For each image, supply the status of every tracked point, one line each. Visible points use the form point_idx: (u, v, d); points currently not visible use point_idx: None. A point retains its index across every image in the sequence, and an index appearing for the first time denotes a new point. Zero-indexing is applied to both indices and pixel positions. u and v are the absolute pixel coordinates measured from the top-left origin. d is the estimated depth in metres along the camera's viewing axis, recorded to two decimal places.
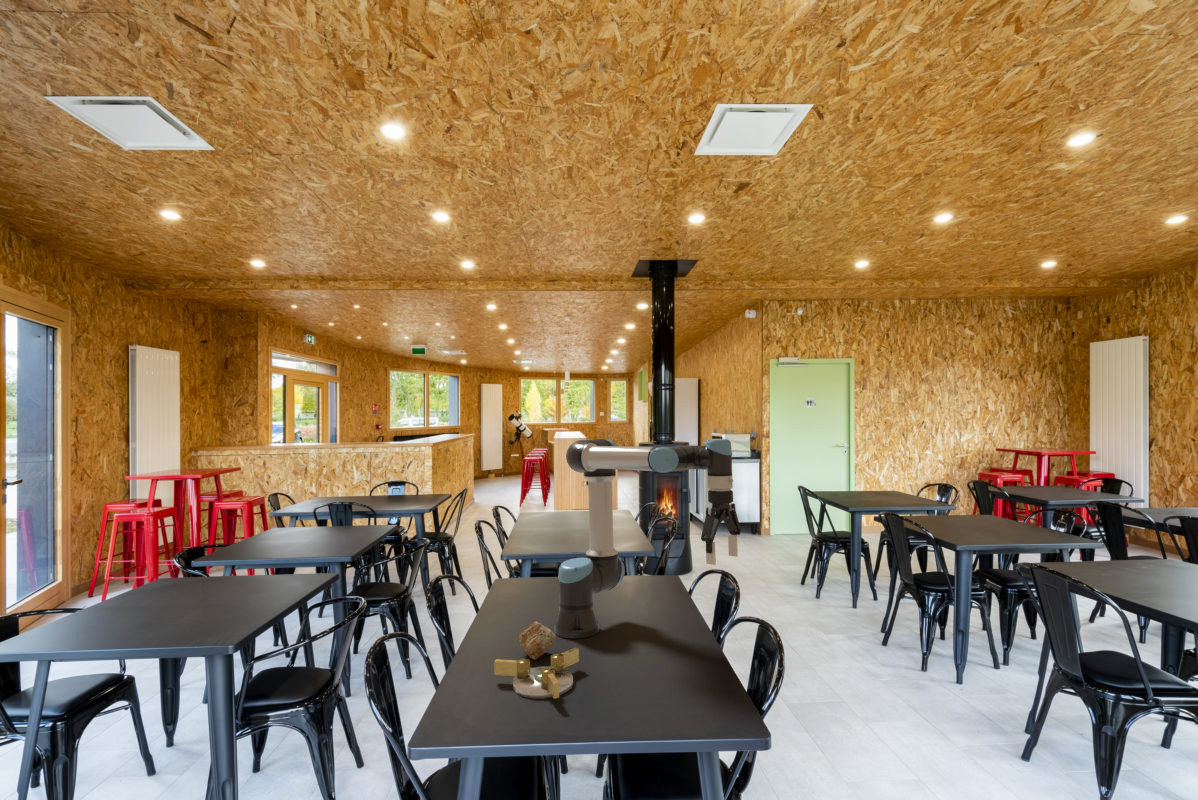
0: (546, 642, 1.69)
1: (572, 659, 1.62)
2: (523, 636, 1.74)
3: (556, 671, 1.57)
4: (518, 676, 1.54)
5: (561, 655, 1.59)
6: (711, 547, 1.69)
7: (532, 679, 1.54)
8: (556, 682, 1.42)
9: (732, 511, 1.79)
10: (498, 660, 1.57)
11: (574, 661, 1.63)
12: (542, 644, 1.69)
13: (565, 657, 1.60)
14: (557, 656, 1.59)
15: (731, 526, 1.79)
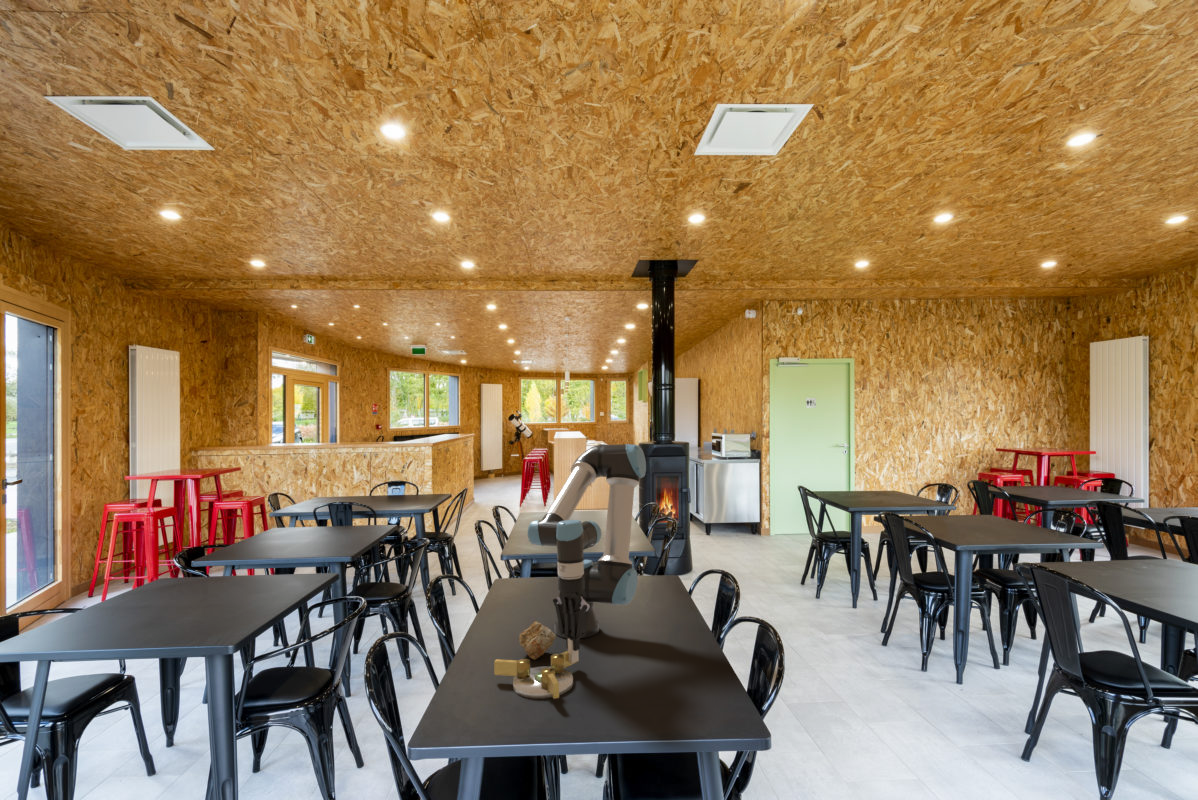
0: (546, 642, 1.69)
1: None
2: (523, 636, 1.74)
3: (556, 671, 1.57)
4: (518, 676, 1.54)
5: (561, 655, 1.59)
6: (568, 643, 1.62)
7: (532, 679, 1.54)
8: (556, 682, 1.42)
9: None
10: (498, 660, 1.57)
11: None
12: (542, 644, 1.69)
13: (565, 657, 1.60)
14: (557, 656, 1.59)
15: None
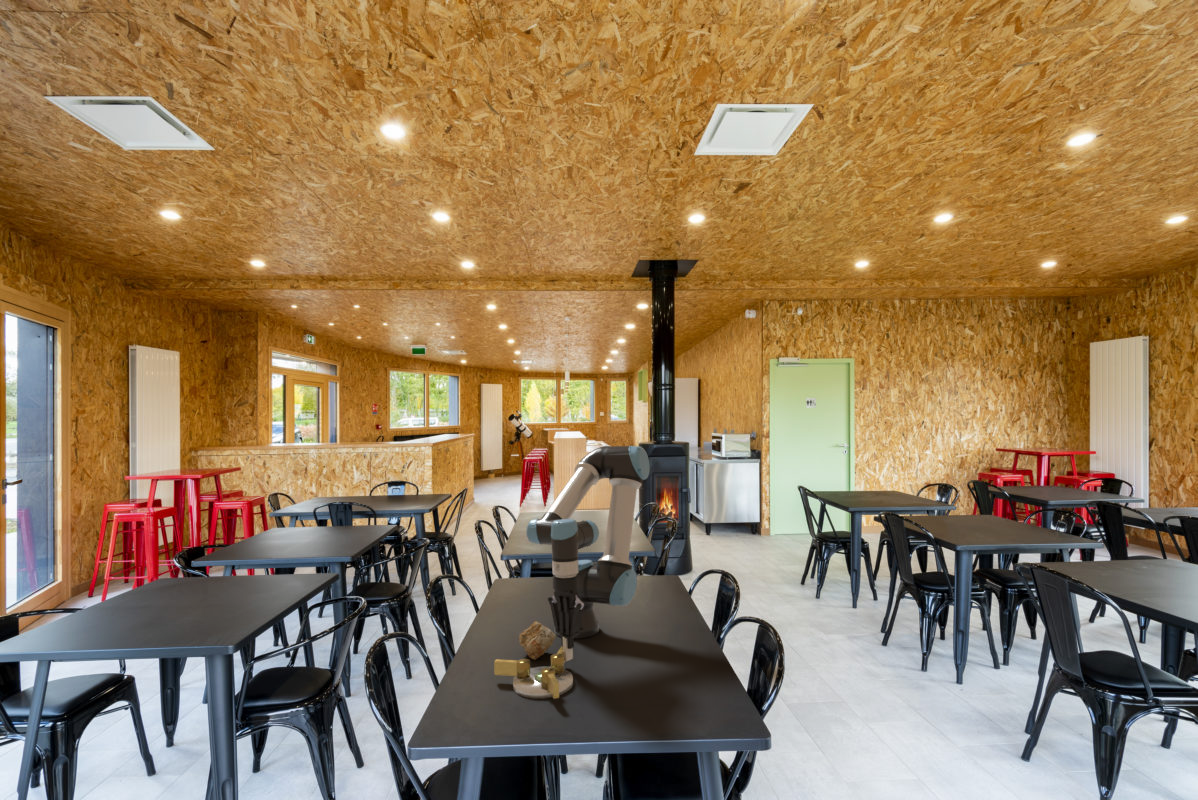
0: (546, 642, 1.69)
1: None
2: (523, 636, 1.74)
3: (559, 671, 1.57)
4: (518, 676, 1.54)
5: (560, 654, 1.60)
6: (563, 641, 1.63)
7: (532, 679, 1.54)
8: (556, 682, 1.42)
9: None
10: (498, 660, 1.57)
11: None
12: (542, 644, 1.69)
13: None
14: (557, 656, 1.59)
15: None
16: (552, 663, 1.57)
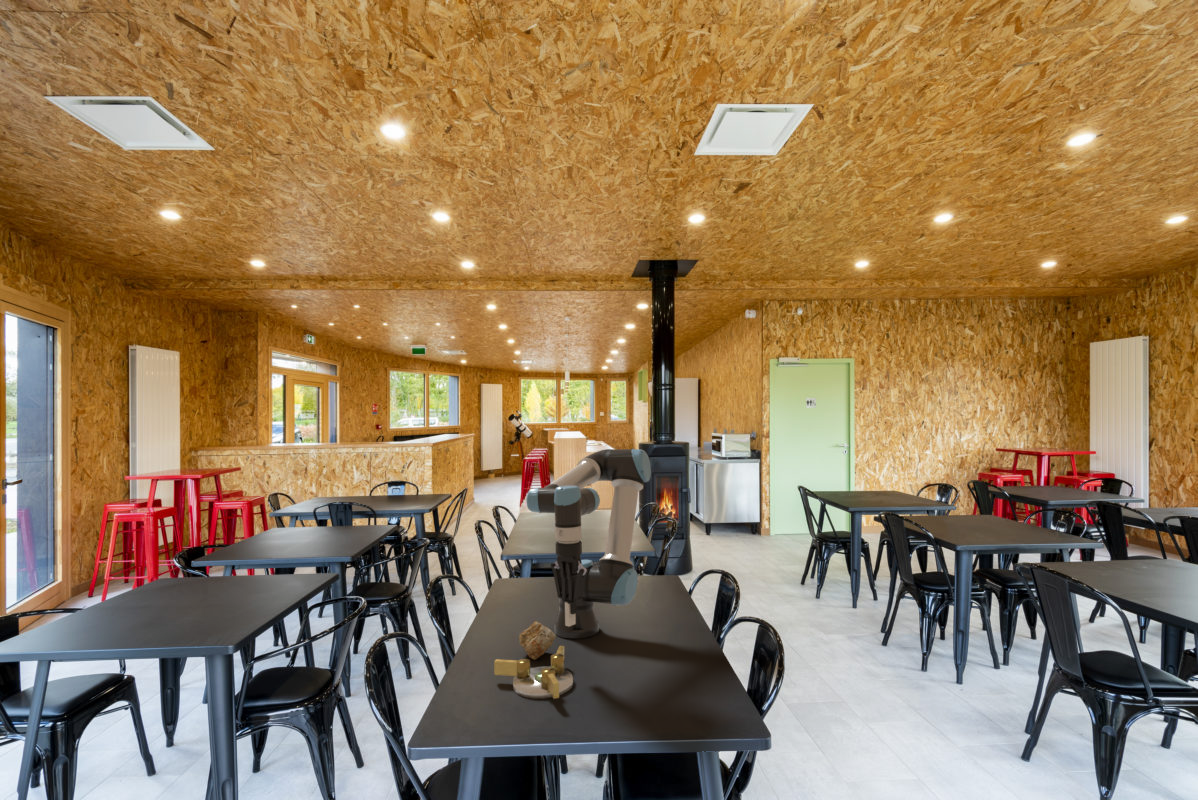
0: (546, 642, 1.69)
1: None
2: (523, 636, 1.74)
3: (560, 671, 1.57)
4: (518, 676, 1.54)
5: (559, 654, 1.60)
6: (565, 606, 1.63)
7: (532, 679, 1.54)
8: (556, 682, 1.42)
9: None
10: (498, 660, 1.57)
11: None
12: (542, 644, 1.69)
13: None
14: (557, 656, 1.59)
15: None
16: (552, 663, 1.57)
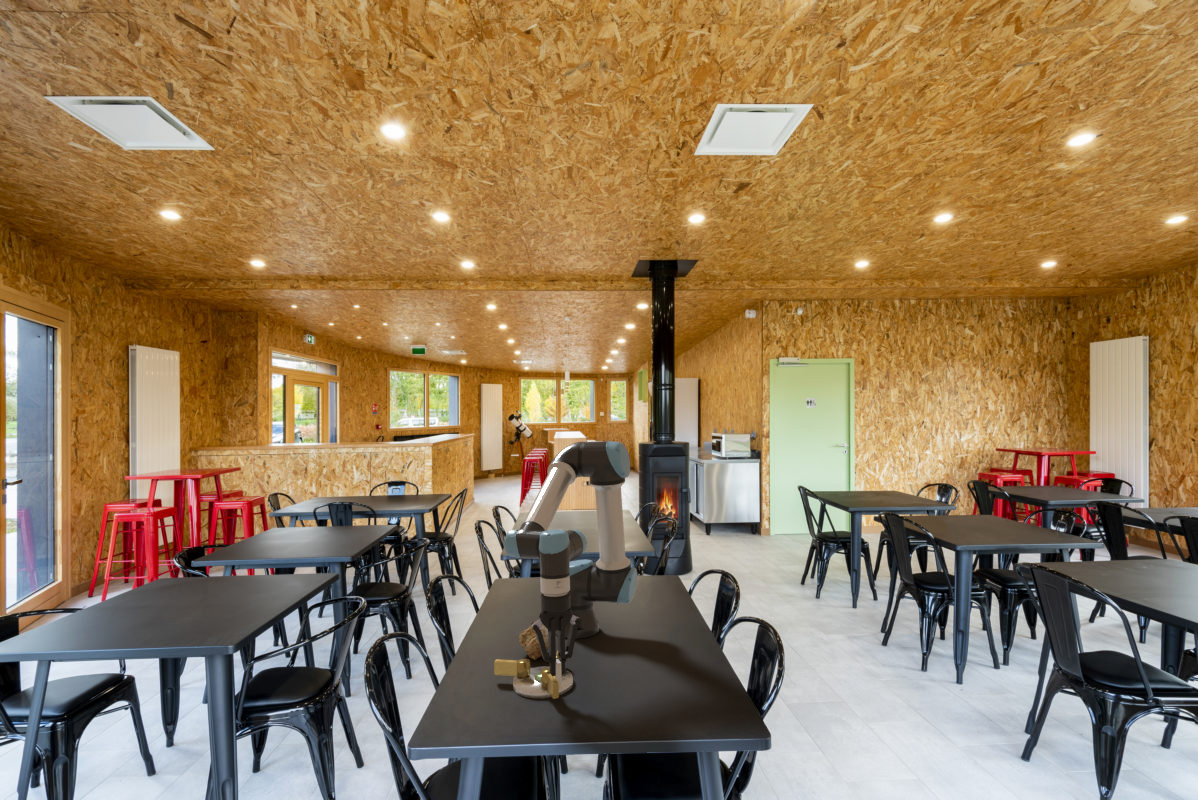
0: (546, 642, 1.69)
1: None
2: (523, 636, 1.74)
3: None
4: (518, 676, 1.54)
5: None
6: (554, 669, 1.44)
7: (532, 679, 1.54)
8: (556, 682, 1.42)
9: (573, 626, 1.46)
10: (498, 660, 1.57)
11: None
12: None
13: None
14: (557, 656, 1.59)
15: (559, 645, 1.45)
16: None
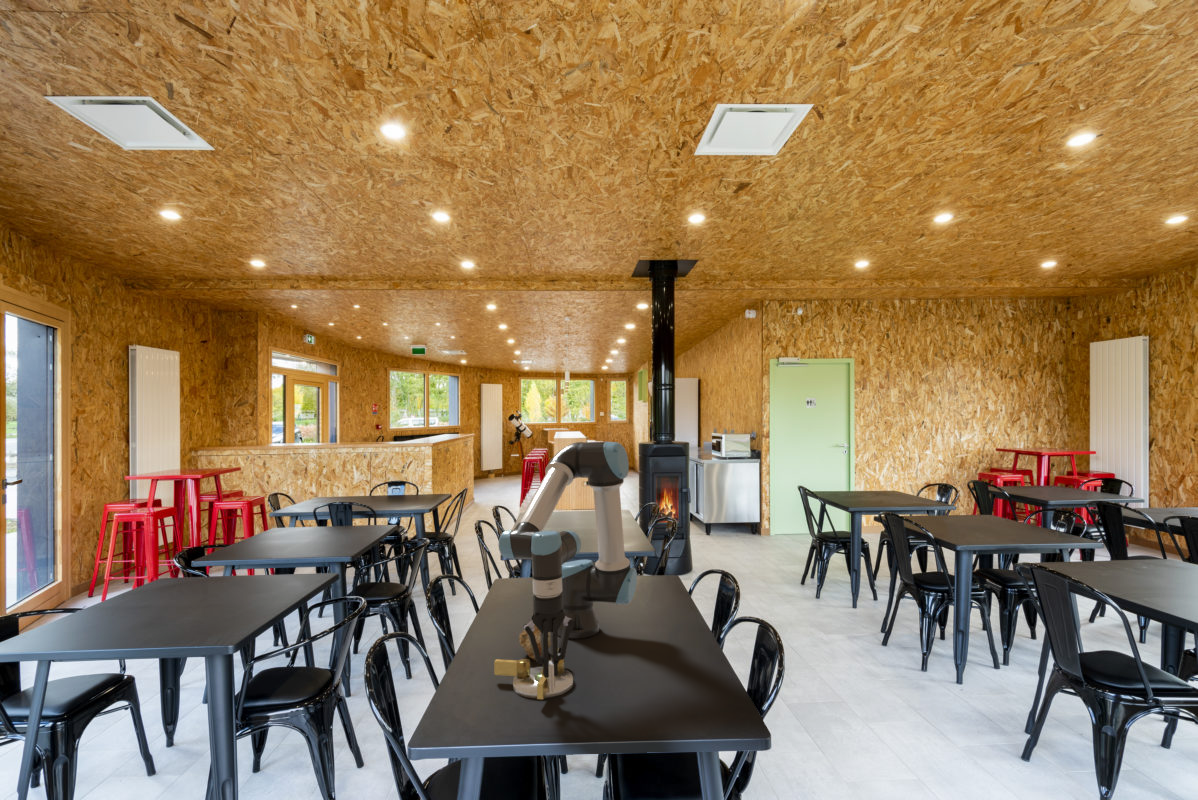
0: None
1: None
2: (523, 636, 1.74)
3: (560, 671, 1.57)
4: (518, 676, 1.54)
5: None
6: (547, 670, 1.43)
7: (532, 679, 1.54)
8: (541, 683, 1.42)
9: (565, 627, 1.46)
10: (498, 660, 1.57)
11: None
12: None
13: None
14: None
15: (552, 646, 1.44)
16: None
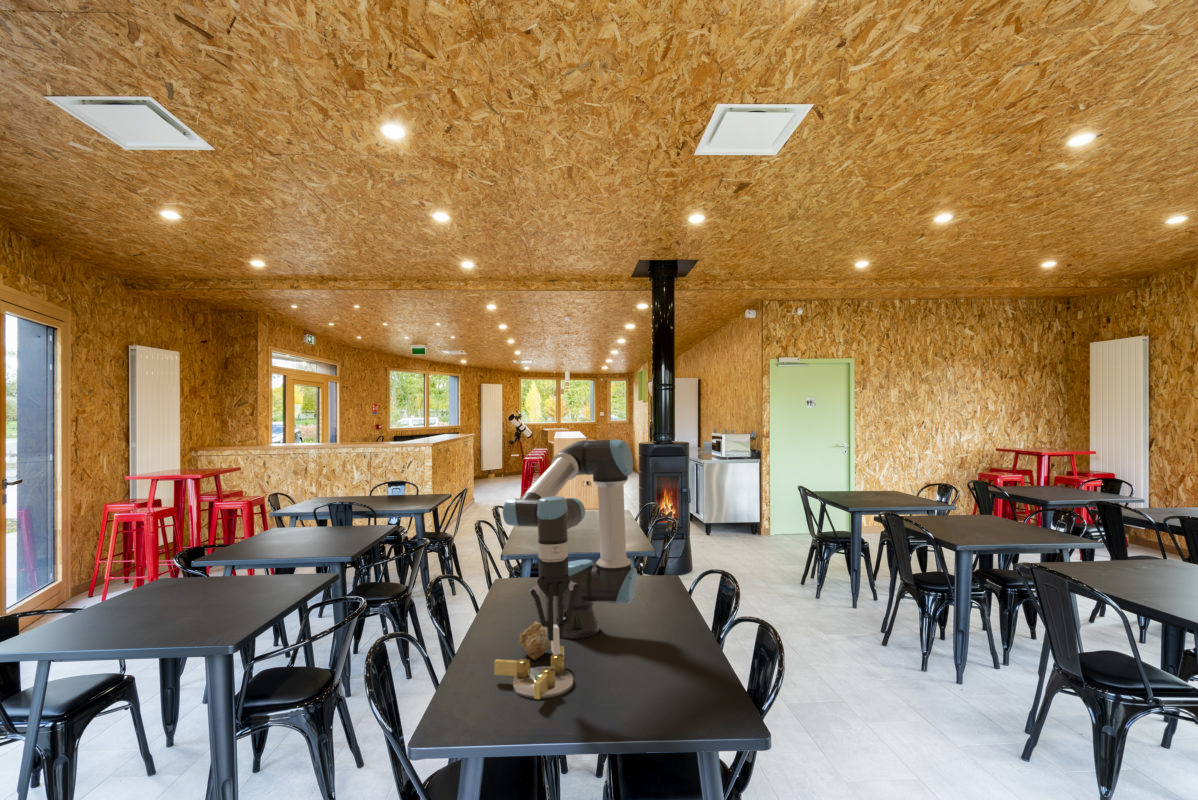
0: (546, 642, 1.69)
1: None
2: (523, 636, 1.74)
3: (560, 671, 1.57)
4: (518, 676, 1.54)
5: (559, 654, 1.60)
6: (551, 634, 1.45)
7: (532, 679, 1.54)
8: (538, 683, 1.42)
9: (571, 591, 1.47)
10: (498, 660, 1.57)
11: None
12: (542, 644, 1.69)
13: None
14: (557, 656, 1.59)
15: (557, 610, 1.46)
16: (552, 663, 1.57)
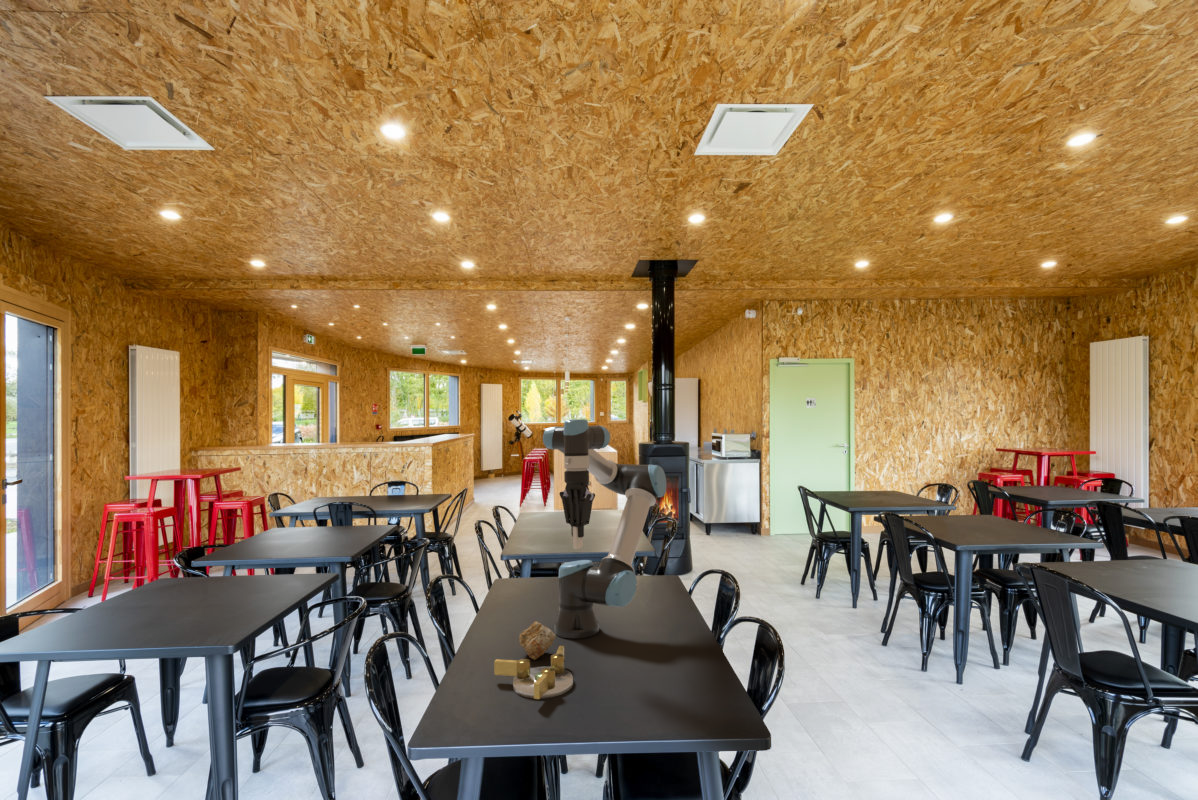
0: (546, 642, 1.69)
1: None
2: (523, 636, 1.74)
3: (560, 671, 1.57)
4: (518, 676, 1.54)
5: (559, 654, 1.60)
6: (573, 531, 1.75)
7: (532, 679, 1.54)
8: (538, 683, 1.42)
9: None
10: (498, 660, 1.57)
11: None
12: (542, 644, 1.69)
13: None
14: (557, 656, 1.59)
15: None
16: (552, 663, 1.57)
